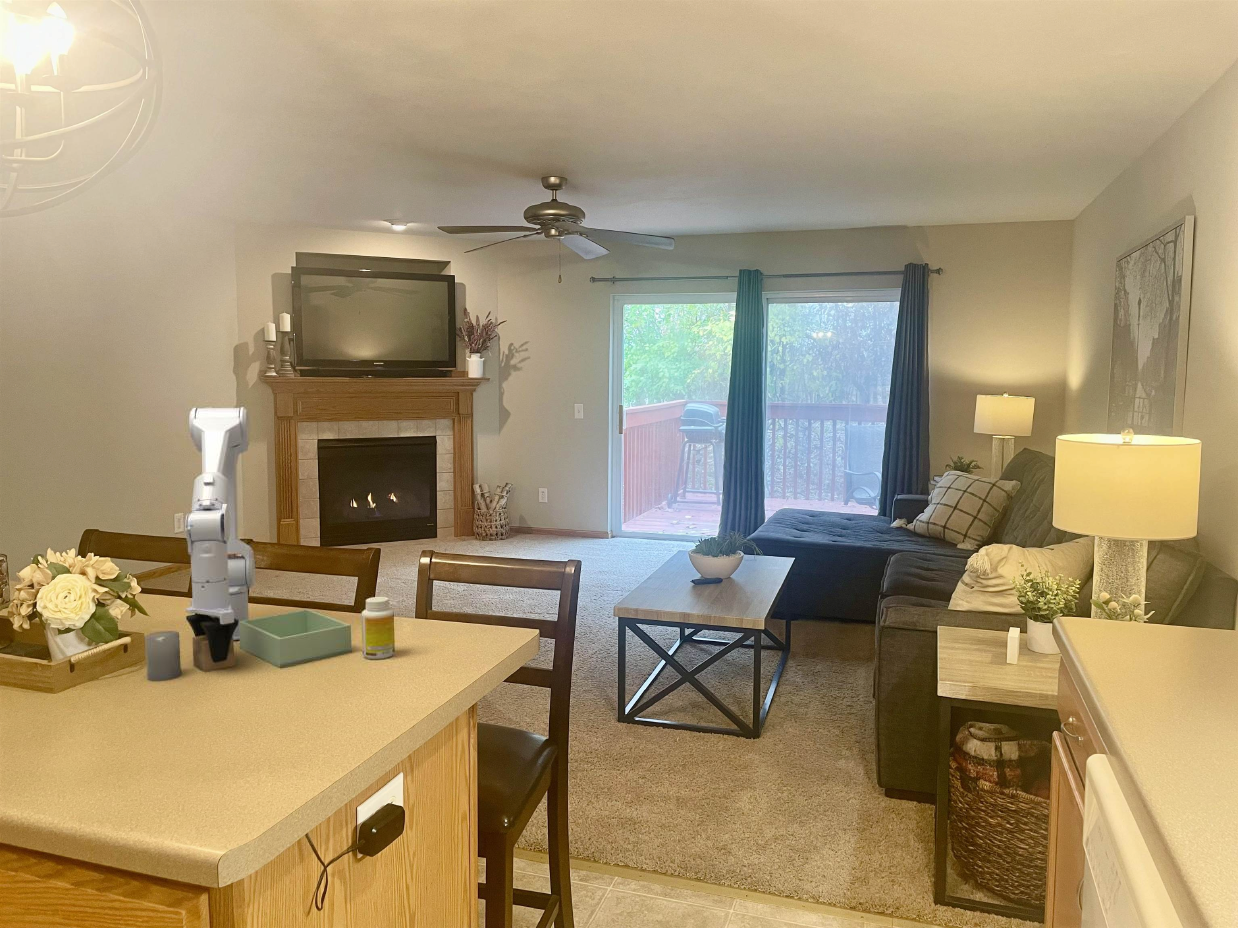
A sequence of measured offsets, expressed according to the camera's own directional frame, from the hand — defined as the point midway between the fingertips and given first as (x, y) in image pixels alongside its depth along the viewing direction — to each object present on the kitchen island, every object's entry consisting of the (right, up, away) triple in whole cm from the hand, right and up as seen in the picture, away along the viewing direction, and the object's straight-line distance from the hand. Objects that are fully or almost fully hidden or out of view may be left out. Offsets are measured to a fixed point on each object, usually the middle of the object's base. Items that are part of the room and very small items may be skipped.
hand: (213, 657), depth 153 cm
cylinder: (-6, -2, -5) cm, 8 cm away
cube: (0, -1, 0) cm, 1 cm away
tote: (+11, -1, +9) cm, 14 cm away
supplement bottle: (+27, -1, +5) cm, 28 cm away
